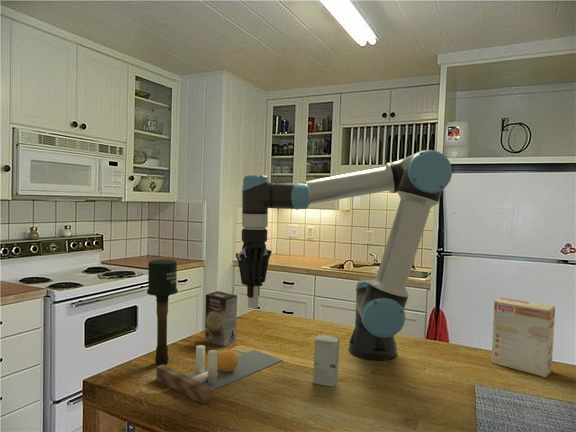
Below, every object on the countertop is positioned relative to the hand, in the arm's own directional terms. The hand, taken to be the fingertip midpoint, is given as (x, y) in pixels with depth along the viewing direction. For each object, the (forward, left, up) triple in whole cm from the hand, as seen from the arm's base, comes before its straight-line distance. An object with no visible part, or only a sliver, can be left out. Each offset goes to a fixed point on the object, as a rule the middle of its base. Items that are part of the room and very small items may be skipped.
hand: (253, 307), depth 127 cm
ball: (0, +10, -13) cm, 17 cm away
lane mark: (0, +8, -16) cm, 18 cm away
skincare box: (-24, -4, -17) cm, 29 cm away
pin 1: (+3, +17, -16) cm, 24 cm away
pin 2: (-2, +17, -16) cm, 24 cm away
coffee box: (+20, -5, -17) cm, 26 cm away
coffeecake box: (-61, -53, -17) cm, 83 cm away
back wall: (0, +25, -16) cm, 30 cm away
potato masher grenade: (+18, +19, -17) cm, 31 cm away
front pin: (0, +14, -15) cm, 21 cm away
